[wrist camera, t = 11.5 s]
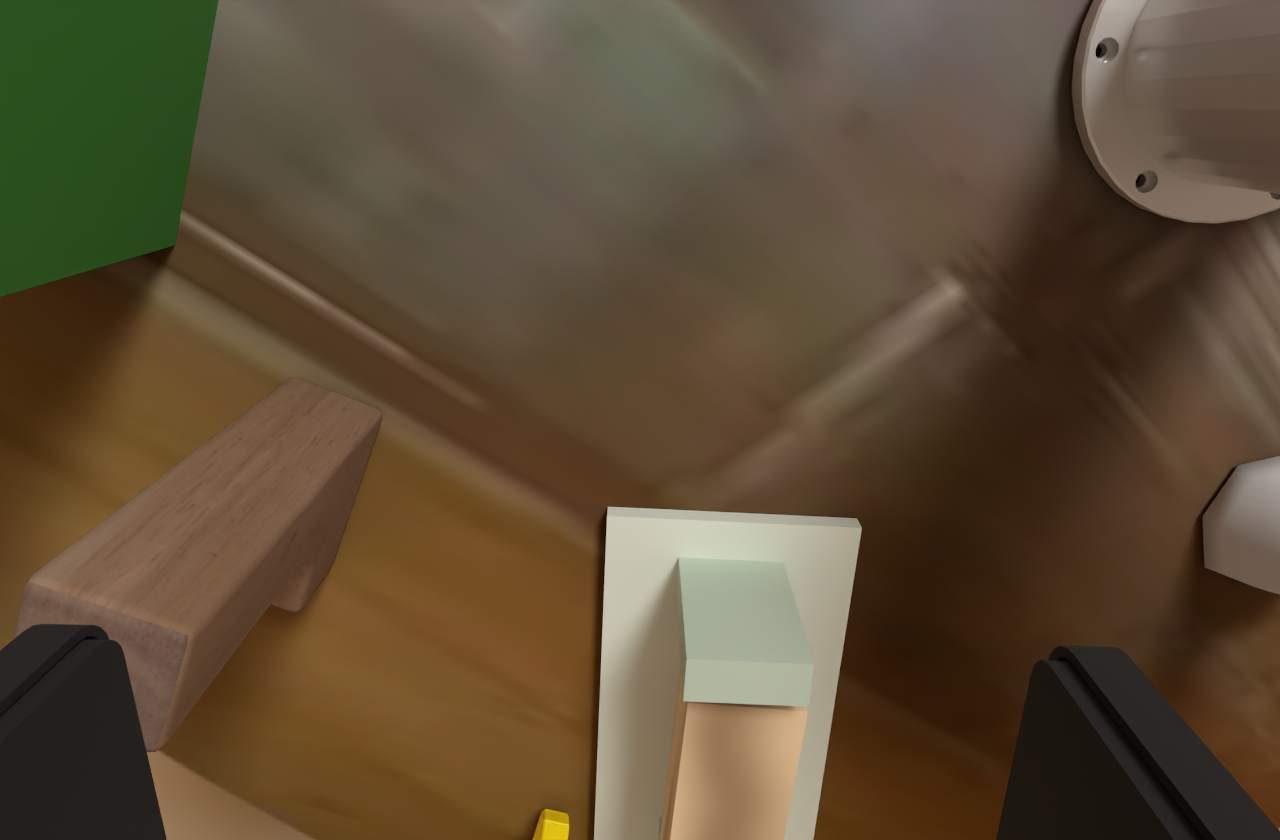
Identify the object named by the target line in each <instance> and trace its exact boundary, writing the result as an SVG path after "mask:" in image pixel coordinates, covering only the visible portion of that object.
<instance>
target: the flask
mask: <svg viewBox="0 0 1280 840" xmlns="http://www.w3.org/2000/svg"><path fill="white" fill-rule="evenodd" d="M1202 519H1203V543H1204V567H1205V568H1207V569H1210V570H1212V571H1215V572H1217V573H1220V574H1222V575H1225V576H1227V577H1230V578H1233V579H1235V580H1238V581H1240V582H1243V583H1245V584H1248V585H1250V586H1253V587H1256V588H1259V589H1262V590H1265V591H1269V592H1272V593H1276V594H1280V456H1277V457H1273V458H1268V459H1264V460H1259V461H1255V462H1251V463H1246V464H1242V465H1238V466H1237V468H1236V469H1235V471H1234V472H1233V474H1232V475H1231V476H1230V478H1229V479H1228V481H1227V482H1226V484H1225V485H1224V486H1223V488H1222V489H1221V491H1220V492H1219V493H1218V495H1217V496H1216V498H1215V499H1214V501H1213V502H1212V503H1211V505H1210V506H1209V508H1208V509H1207V511H1206V512H1205V513H1204V515H1203V516H1202Z"/></svg>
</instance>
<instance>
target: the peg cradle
mask: <svg viewBox="0 0 1280 840" xmlns="http://www.w3.org/2000/svg"><path fill="white" fill-rule="evenodd" d="M861 530H862V527H861V525H860V523H859V521H858V520H857V518H840V517H818V516H797V515H775V514H754V513H732V512H711V511H690V510H668V509H647V508H625V507H608V510H607V528H606V553H605V577H604V602H603V627H602V652H601V677H600V702H599V726H598V751H597V776H596V801H595V826H594V840H660V832H661V824H662V815H663V807H664V799H665V791H666V783H667V775H668V767H669V759H670V751H671V743H672V735H673V727H674V719H675V711H676V703H677V694H678V686H679V678H680V670H681V676H682V691H683V701H688V702H710V703H733V704H756V705H779V706H802V707H807V709H808V715H807V721H806V726H805V731H804V737H803V742H802V747H801V752H800V758H799V763H798V768H797V773H796V779H795V784H794V789H793V795H792V800H791V805H790V810H789V816H788V821H787V826H786V832H785V837H784V840H813V839H814V832H815V826H816V819H817V813H818V806H819V800H820V794H821V787H822V781H823V774H824V768H825V761H826V755H827V749H828V742H829V736H830V729H831V723H832V716H833V710H834V704H835V697H836V691H837V684H838V678H839V671H840V665H841V659H842V652H843V646H844V639H845V633H846V626H847V620H848V614H849V607H850V601H851V594H852V588H853V581H854V575H855V569H856V562H857V556H858V549H859V543H860V536H861Z"/></svg>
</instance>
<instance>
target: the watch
mask: <svg viewBox="0 0 1280 840" xmlns="http://www.w3.org/2000/svg"><path fill="white" fill-rule="evenodd" d="M568 833H569V816H568V814H566V813H562V812H557V811H553V810H548V809H545V810H543V811H542V812H541V814H540V817H539V821H538V824H537V827H536V830H535V833H534V836H533V839H532V840H568Z"/></svg>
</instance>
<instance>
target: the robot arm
mask: <svg viewBox="0 0 1280 840" xmlns="http://www.w3.org/2000/svg"><path fill="white" fill-rule="evenodd" d="M1097 45H1099V46H1100V47H1101V54H1100V56H1099V57H1096V48H1097ZM1072 99H1073V109H1074V118H1075V123H1076V126H1077V129H1078V133H1079V136H1080V139H1081V142H1082V145H1083V148H1084V150H1085V152H1086V154H1087V155H1088V157H1089V159H1090V161H1091V162H1092V164H1093V166H1094V168H1095V169H1096V171H1097V173H1098V174H1099V175H1100V176H1101V177H1102V178H1103V179H1104V180H1105V181H1106V182H1107V184H1108V185H1109V186H1110V187H1111V188H1112V189H1113V190H1114V191H1115V192H1116V193H1117V194H1119V195H1120V196H1122V197H1123V198H1125V199H1126V200H1128V201H1129V202H1131V203H1132V204H1134V205H1135V206H1137V207H1139V208H1141V209H1144V210H1146V211H1149V212H1152V213H1154V214H1157V215H1159V216H1162V217H1166V218H1172V219H1177V220H1181V221H1185V222H1196V223H1216V224H1217V223H1224V222H1231V221H1239V220H1246V219H1249V218H1252V217H1255V216H1259V215H1262V214H1265V213H1268V212H1271V211H1274V210H1277V209H1279V208H1280V0H1093V2H1092V4H1091V7H1090V9H1089V11H1088V13H1087V16H1086V18H1085V20H1084V23H1083V25H1082V29H1081V33H1080V37H1079V41H1078V45H1077V49H1076V53H1075V56H1074V65H1073V78H1072ZM1138 175H1139V176H1140V181H1139V183H1138V184H1137V185H1136V179H1137V177H1138ZM0 840H166V835H165V830H164V826H163V822H162V818H161V814H160V809H159V805H158V800H157V796H156V791H155V787H154V782H153V778H152V774H151V769H150V765H149V761H148V756H147V752H146V747H145V743H144V739H143V734H142V730H141V726H140V721H139V717H138V712H137V708H136V704H135V699H134V695H133V691H132V686H131V682H130V678H129V673H128V669H127V664H126V660H125V656H124V652H123V650H122V647H121V645H120V644H119V643H118V642H117V641H114V640H109V637H108V635H107V633H106V632H105V631H104V630H103V629H102V628H101V627H98V626H96V625H73V624H38V625H33V626H31V627H30V628H28V629H26V630H25V631H23V632H22V633H21V634H20V635H18V636H17V637H16V638H15V639H14V640H12V641H11V642H10V643H9V644H8V645H7V646H5V647H4V648H3V649H2V650H1V651H0ZM996 840H1280V831H1279V830H1278V829H1277V828H1276V826H1275V825H1274V824H1273V823H1272V822H1271V821H1270V819H1269V818H1268V817H1267V816H1266V815H1265V814H1264V813H1263V811H1262V810H1261V809H1260V808H1259V807H1258V806H1257V804H1256V803H1255V802H1254V801H1253V800H1252V799H1251V797H1250V796H1249V795H1248V794H1247V793H1246V792H1245V791H1244V789H1243V788H1242V787H1241V786H1240V785H1239V784H1238V782H1237V781H1236V780H1235V779H1234V778H1233V777H1232V776H1231V774H1230V773H1229V772H1228V771H1227V770H1226V769H1225V767H1224V766H1223V765H1222V764H1221V763H1220V762H1219V760H1218V759H1217V758H1216V757H1215V756H1214V755H1213V754H1212V752H1211V751H1210V750H1209V749H1208V748H1207V747H1206V745H1205V744H1204V743H1203V742H1202V741H1201V740H1200V739H1199V737H1198V736H1197V735H1196V734H1195V733H1194V732H1193V730H1192V729H1191V728H1190V727H1189V726H1188V725H1187V723H1186V722H1185V721H1184V720H1183V719H1182V718H1181V717H1180V715H1179V714H1178V713H1177V712H1176V711H1175V710H1174V708H1173V707H1172V706H1171V705H1170V704H1169V703H1168V702H1167V700H1166V699H1165V698H1164V697H1163V696H1162V695H1161V693H1160V692H1159V691H1158V690H1157V689H1156V688H1155V686H1154V685H1153V684H1152V683H1151V682H1150V681H1149V680H1148V678H1147V677H1146V676H1145V675H1144V674H1143V673H1142V671H1141V670H1140V669H1139V668H1138V667H1137V666H1136V665H1135V663H1134V662H1133V661H1132V660H1131V659H1130V658H1129V656H1128V655H1127V654H1125V653H1124V652H1123V651H1122V650H1121V649H1118V648H1114V647H1084V646H1059V647H1057V648H1055V649H1054V650H1053V651H1052V653H1051V654H1050V656H1049V659H1048V660H1040V661H1038V662H1037V663H1036V664H1035V665H1034V667H1033V670H1032V673H1031V678H1030V683H1029V687H1028V692H1027V697H1026V702H1025V706H1024V711H1023V716H1022V720H1021V725H1020V730H1019V735H1018V739H1017V744H1016V749H1015V754H1014V758H1013V763H1012V768H1011V773H1010V777H1009V782H1008V787H1007V791H1006V796H1005V801H1004V806H1003V810H1002V815H1001V820H1000V825H999V829H998V834H997V839H996Z"/></svg>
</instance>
